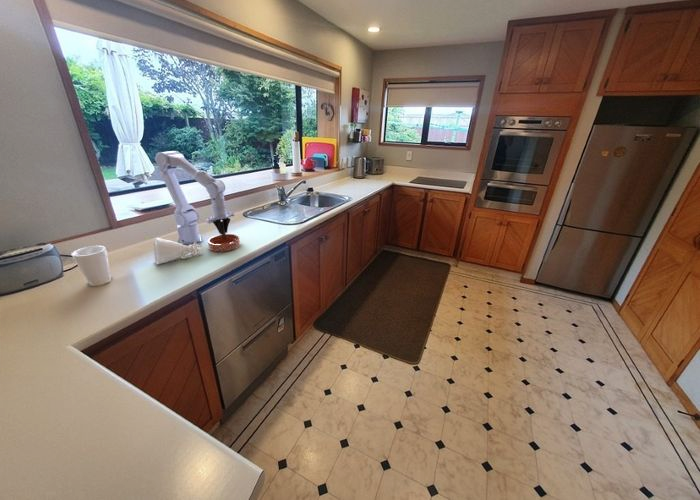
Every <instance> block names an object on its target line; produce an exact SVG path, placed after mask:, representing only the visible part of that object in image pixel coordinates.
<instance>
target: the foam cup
mask: <svg viewBox="0 0 700 500" xmlns="http://www.w3.org/2000/svg"><path fill="white" fill-rule="evenodd" d="M70 255H71V257H72V259H73V261H74V262H75V263H76V265H77V267H78V269H79V270H80V271H81V273H82V275H83V276H84V278H85V280H86V281H87V282H88V284H89V285H90V286H92V287H98V286H102V285H105V284H108V283H110V282H111V281H112V276H111V269H110V264H109V263H110V262H109V257H108V250H107V247H105V246H104V245H91V246H89V245H88V246H84V247H80V248H77V249H76V250H74V251H72V252H70Z"/></svg>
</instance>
